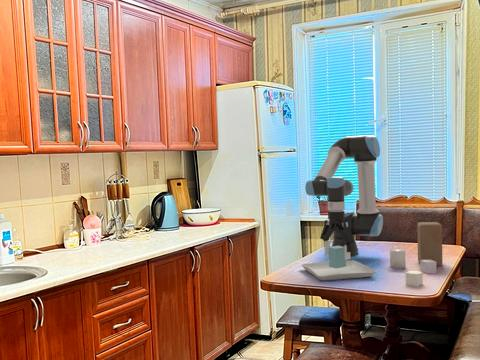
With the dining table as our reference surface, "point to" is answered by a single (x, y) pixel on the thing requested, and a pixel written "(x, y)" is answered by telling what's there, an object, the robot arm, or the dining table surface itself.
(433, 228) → the block
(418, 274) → the cream cube
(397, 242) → the dining table surface
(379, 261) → the dining table surface
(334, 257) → the teal block
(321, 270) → the square plate
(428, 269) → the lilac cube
